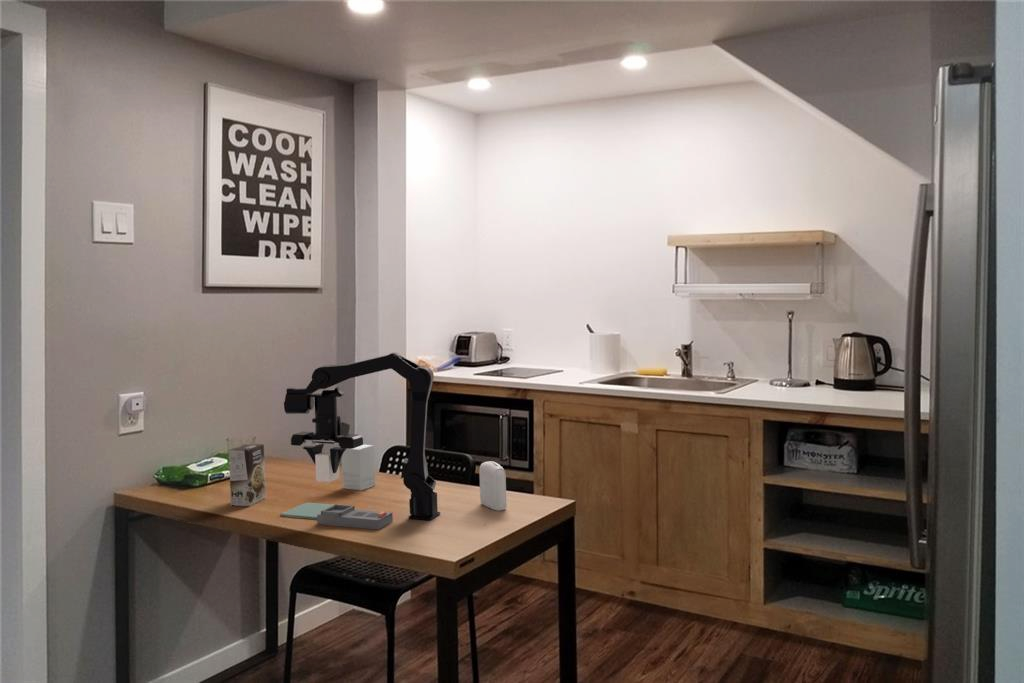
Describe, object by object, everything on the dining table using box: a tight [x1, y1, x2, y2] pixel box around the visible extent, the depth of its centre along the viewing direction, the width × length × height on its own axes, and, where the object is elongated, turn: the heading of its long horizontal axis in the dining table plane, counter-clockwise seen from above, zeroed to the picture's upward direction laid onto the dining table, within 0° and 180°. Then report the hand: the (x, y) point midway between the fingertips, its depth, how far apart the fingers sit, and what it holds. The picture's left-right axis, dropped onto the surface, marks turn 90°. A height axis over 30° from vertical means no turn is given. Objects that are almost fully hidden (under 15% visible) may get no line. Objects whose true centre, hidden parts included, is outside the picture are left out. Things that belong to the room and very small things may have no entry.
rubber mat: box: [279, 502, 334, 520], centre depth 219 cm, size 12×12×1 cm
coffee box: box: [228, 443, 267, 507], centre depth 231 cm, size 9×6×16 cm
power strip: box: [316, 503, 394, 530], centre depth 208 cm, size 18×7×3 cm, turn 70°
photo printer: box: [478, 460, 508, 511], centre depth 220 cm, size 10×4×12 cm, turn 27°
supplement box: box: [341, 444, 377, 491], centre depth 246 cm, size 7×7×13 cm
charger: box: [314, 450, 340, 483], centre depth 212 cm, size 4×5×7 cm
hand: (327, 472), depth 212 cm, fingers closed on charger, 4 cm apart
